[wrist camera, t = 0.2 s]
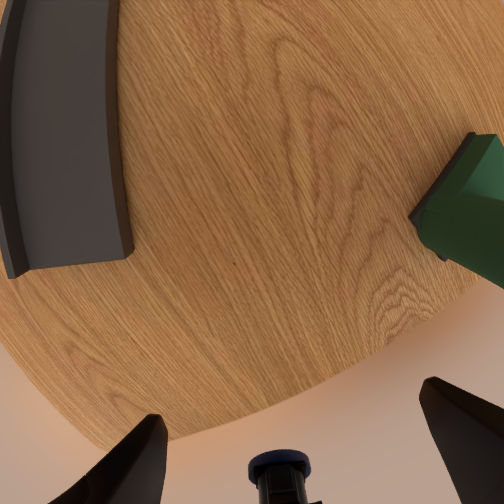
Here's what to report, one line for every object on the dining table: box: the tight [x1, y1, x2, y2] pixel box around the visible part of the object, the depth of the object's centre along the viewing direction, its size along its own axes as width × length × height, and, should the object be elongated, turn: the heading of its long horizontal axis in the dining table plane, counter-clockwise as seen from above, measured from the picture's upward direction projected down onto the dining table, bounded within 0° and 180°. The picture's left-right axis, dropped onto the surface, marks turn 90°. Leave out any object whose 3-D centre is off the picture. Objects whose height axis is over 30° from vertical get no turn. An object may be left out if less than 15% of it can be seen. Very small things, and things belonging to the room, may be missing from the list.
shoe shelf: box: [0, 0, 134, 279], centre depth 13 cm, size 44×10×4 cm, turn 6°
